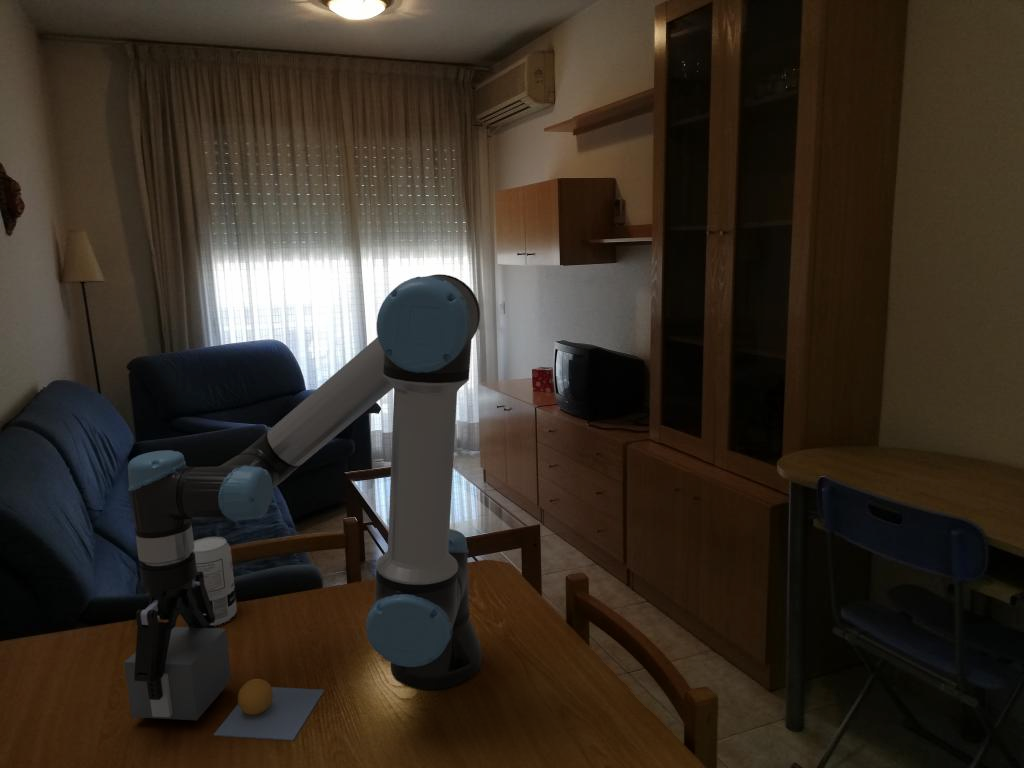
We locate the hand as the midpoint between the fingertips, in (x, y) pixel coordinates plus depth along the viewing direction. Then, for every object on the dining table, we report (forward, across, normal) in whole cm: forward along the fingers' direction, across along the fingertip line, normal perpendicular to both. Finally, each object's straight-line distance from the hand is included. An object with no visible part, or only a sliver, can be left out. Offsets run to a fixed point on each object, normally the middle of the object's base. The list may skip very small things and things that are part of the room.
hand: (183, 693), depth 112 cm
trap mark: (+2, 0, +14) cm, 14 cm away
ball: (0, 0, +12) cm, 12 cm away
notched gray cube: (+1, 0, 0) cm, 1 cm away
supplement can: (+3, -27, -10) cm, 29 cm away
